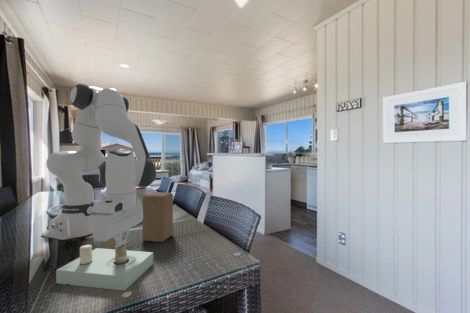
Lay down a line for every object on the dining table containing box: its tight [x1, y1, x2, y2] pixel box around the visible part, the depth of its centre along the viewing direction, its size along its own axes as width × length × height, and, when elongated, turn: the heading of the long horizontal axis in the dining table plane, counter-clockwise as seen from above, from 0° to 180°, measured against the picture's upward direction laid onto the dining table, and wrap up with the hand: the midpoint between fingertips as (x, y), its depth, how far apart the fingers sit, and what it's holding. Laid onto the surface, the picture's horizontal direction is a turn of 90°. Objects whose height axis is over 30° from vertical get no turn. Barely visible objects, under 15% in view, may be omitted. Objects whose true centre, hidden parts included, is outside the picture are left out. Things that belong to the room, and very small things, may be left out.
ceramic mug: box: [92, 237, 116, 249], centre depth 95 cm, size 11×8×8 cm
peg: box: [115, 243, 127, 265], centre depth 75 cm, size 3×3×9 cm
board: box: [55, 244, 154, 291], centre depth 75 cm, size 22×16×9 cm
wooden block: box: [142, 191, 174, 243], centre depth 106 cm, size 10×10×20 cm
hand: (121, 244), depth 75 cm, fingers closed
